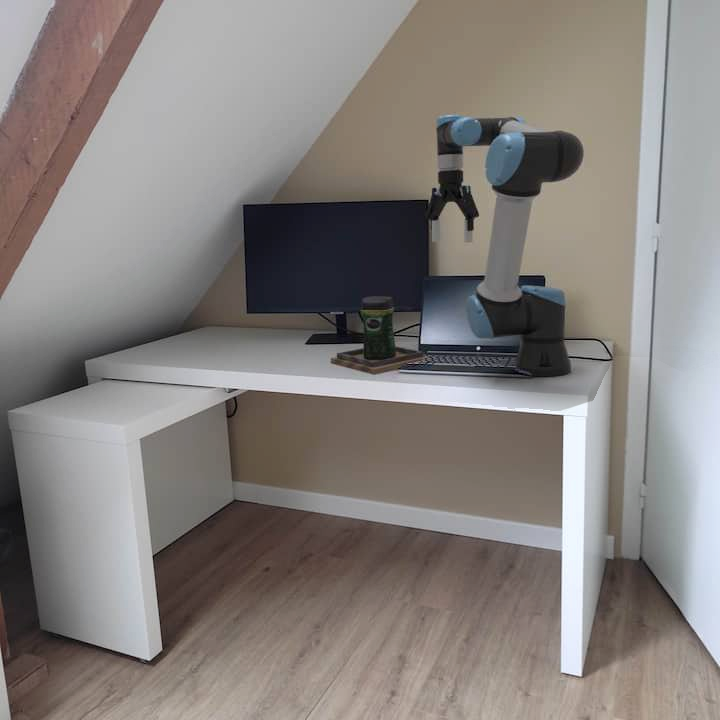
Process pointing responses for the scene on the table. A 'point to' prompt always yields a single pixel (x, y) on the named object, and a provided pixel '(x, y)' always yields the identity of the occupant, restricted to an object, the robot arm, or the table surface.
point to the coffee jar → (378, 327)
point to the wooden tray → (375, 366)
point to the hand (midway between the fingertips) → (452, 242)
